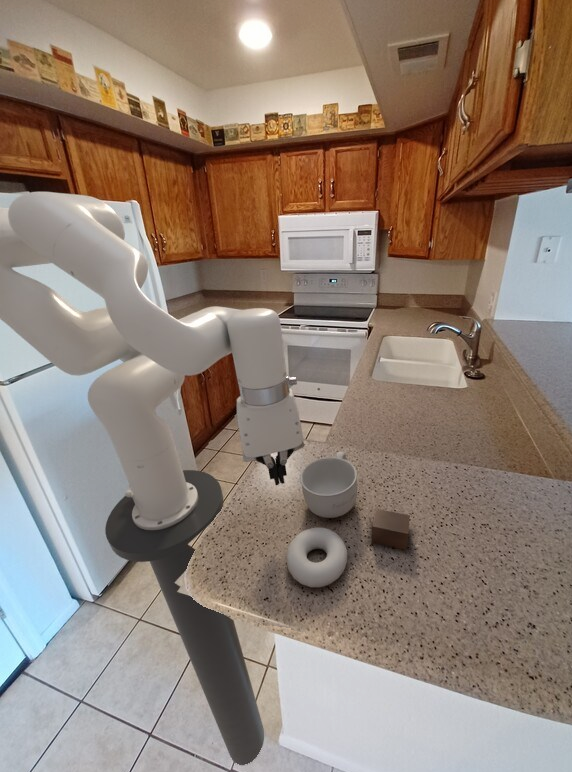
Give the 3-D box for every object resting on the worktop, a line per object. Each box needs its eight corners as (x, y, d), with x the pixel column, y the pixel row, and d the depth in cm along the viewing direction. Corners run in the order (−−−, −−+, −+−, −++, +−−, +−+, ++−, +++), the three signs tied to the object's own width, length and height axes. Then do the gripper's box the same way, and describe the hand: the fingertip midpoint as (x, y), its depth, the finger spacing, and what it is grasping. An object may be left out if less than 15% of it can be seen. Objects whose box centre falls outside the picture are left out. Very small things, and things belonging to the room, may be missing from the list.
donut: (356, 550, 56) (306, 528, 60) (357, 536, 54) (305, 514, 59) (330, 604, 48) (274, 575, 52) (330, 590, 46) (272, 560, 51)
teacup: (340, 536, 58) (339, 502, 55) (291, 512, 64) (288, 480, 60) (372, 487, 69) (373, 456, 65) (328, 470, 74) (327, 441, 71)
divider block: (371, 542, 57) (372, 526, 55) (375, 524, 60) (375, 508, 59) (406, 550, 55) (408, 533, 54) (408, 531, 59) (409, 515, 57)
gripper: (303, 372, 57) (312, 457, 65) (214, 388, 53) (235, 477, 61) (316, 390, 50) (323, 482, 58) (216, 410, 46) (238, 505, 54)
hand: (278, 479), depth 59 cm, fingers closed
